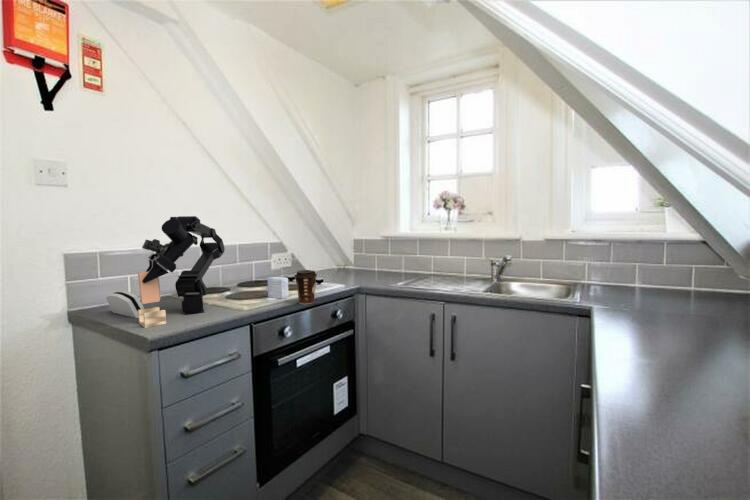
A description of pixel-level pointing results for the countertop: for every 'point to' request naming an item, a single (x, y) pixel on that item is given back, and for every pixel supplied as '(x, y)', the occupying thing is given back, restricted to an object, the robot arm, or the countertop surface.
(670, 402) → the countertop surface
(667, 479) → the countertop surface
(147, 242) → the robot arm
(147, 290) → the peach tall block
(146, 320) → the tan wooden block
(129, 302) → the white dark-banded wedge
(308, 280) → the coffee cup
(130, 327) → the countertop surface
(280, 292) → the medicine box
